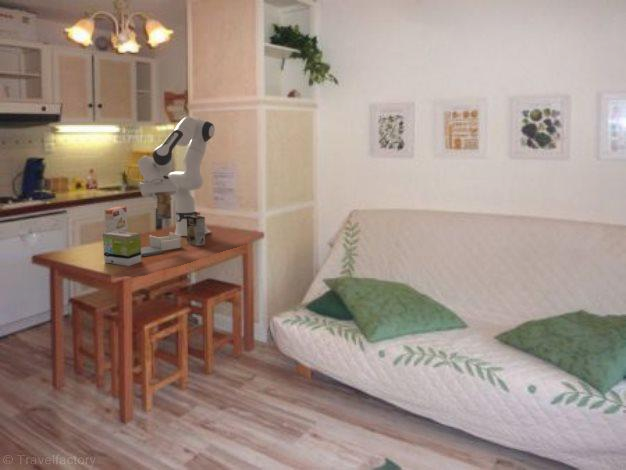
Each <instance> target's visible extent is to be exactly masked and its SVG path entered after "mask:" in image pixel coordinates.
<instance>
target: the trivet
mask: <svg viewBox="0 0 626 470" xmlns="http://www.w3.org/2000/svg"><path fill="white" fill-rule="evenodd" d="M160 254H164V251H163V250H160V249H157V248H154V247H151V246H150V245H148V246H144V247H141V258H143V257H147V256H154V255H155V256H156V255H160ZM142 256H143V257H142Z"/></svg>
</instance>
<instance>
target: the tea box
mask: <svg viewBox="0 0 626 470" xmlns="http://www.w3.org/2000/svg"><path fill="white" fill-rule="evenodd" d="M102 241H103V244H102V245H103V259H104V263H106V264H115V265H121V266H126V267H127V266H128V267H129V266H133V265H135V264H138V263H141V262H142V257H141V248H142V247H141V245H142V244H141V241H142V240H141V232H140V233H139V232H131V231H130V232H129V231H127V232H123V231H113V232H110V233H106V232H105V233H103V234H102Z"/></svg>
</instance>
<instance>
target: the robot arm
mask: <svg viewBox="0 0 626 470" xmlns="http://www.w3.org/2000/svg"><path fill="white" fill-rule="evenodd" d="M214 134H215V126H214V124H213V123H212V122H210V121H206V120H203V119H197V118H193V117H192V116H191V117H190V116H185V117H184V118H182V119H180V121H179V123H178V124H177V125H176V126H175V128H174V130H173V131H172V132H171V133H170V134H169V135H168V136H167V137H166V139H165V140H164V142H163V143H162V144H161V145H159V146H158V147H155V149H154V150H153V151H152V157H151V156H148V155H143V156H142V157H141V158H139V159H138V161H137V168H138V169H139V171H140V174H141V176H142V177H143V179H144V181H139V182H138V183H137V186H138V188H139V191H140V194H141V196H142V197H143V198H148V197H149V198H152V199H153V201H155V202H156V203H157V202H159V201H160V199H159V198H157V195H156V193H164V192H168V193H170V202H171V201H172V195H174V197H175V203H176V204H175V205H176V207H175V208H176V211H175V220H176V226H175V231H174V233H175V234H178V235H181V237H187V216H191V215H197V216H201V211H196V207H195V206H196V205H195V204H196V202H195V198H194V197H193V196H192V195H191V193H190V191H194V190H199V189H201V188H202V186H203V184H204V180H203V177H202V175H201V171H200V170H201V165H202V162H203V158H204V156H205V153H206V150H207V144H208V143H207V142H209V140H211V139H212V138H213V136H214ZM176 146H179V147H186V146H187V147H186V149H185V152H184V155H183V157H182V163H183V164H184V165H185V166H184V170H183V171H181V170H176V171H173V158H172V155H173V150H175V148H176ZM207 234H211V230H209V229H208V227H207V223H206V222H205V235H207Z"/></svg>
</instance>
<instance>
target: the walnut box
mask: <svg viewBox="0 0 626 470" xmlns="http://www.w3.org/2000/svg"><path fill="white" fill-rule="evenodd" d="M156 195H157V196H156V197H157V198H159V199H160V201H159V202H156V213H157V216H156V217H157V219H158V220H169V219H172V209H171V201H170V193H168V192H164V193H156Z"/></svg>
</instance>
